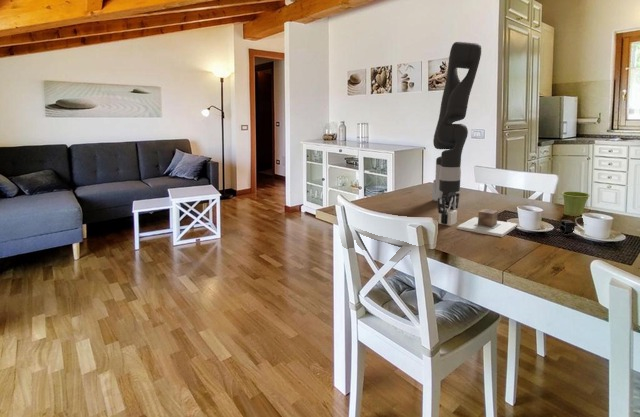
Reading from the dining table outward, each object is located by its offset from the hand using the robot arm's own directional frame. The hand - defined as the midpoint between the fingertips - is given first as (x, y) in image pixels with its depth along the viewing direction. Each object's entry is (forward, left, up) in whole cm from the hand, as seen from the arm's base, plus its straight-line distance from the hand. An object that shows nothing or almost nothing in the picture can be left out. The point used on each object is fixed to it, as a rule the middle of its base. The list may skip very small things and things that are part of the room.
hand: (447, 221), depth 160 cm
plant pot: (+34, +41, -1) cm, 53 cm away
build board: (+14, +3, 0) cm, 14 cm away
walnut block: (+14, +3, +1) cm, 14 cm away
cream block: (0, 0, -1) cm, 1 cm away
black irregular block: (+37, +14, -1) cm, 40 cm away
